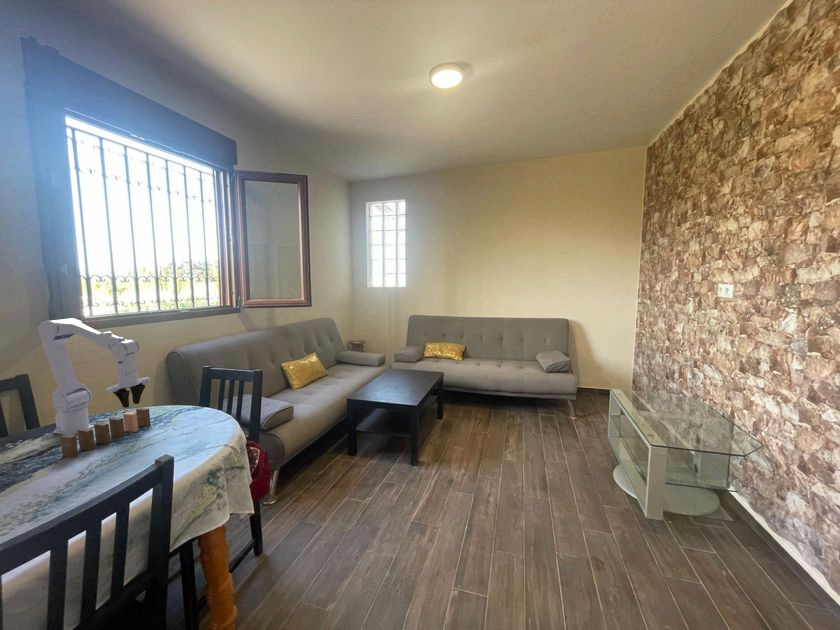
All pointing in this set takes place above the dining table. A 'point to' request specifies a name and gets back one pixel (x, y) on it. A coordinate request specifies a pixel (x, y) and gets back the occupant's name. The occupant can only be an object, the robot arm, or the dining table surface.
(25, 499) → the dining table surface
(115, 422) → the domino
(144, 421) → the domino
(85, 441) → the domino
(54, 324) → the robot arm
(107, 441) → the domino
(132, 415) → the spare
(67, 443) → the domino
